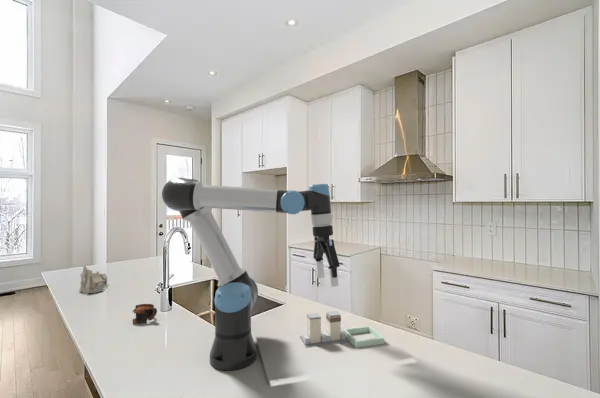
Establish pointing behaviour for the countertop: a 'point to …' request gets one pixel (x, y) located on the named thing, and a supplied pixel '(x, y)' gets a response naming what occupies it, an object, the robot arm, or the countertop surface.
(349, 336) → the tray
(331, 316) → the block
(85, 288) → the ceramic cottage
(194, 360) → the countertop surface
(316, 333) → the block
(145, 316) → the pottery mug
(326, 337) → the block
